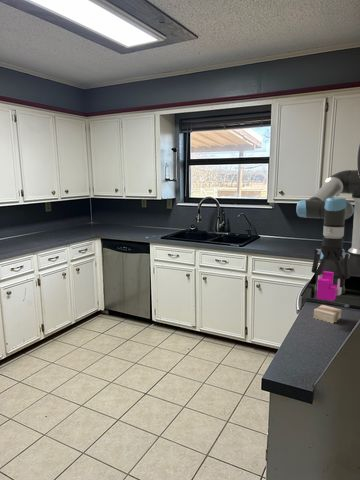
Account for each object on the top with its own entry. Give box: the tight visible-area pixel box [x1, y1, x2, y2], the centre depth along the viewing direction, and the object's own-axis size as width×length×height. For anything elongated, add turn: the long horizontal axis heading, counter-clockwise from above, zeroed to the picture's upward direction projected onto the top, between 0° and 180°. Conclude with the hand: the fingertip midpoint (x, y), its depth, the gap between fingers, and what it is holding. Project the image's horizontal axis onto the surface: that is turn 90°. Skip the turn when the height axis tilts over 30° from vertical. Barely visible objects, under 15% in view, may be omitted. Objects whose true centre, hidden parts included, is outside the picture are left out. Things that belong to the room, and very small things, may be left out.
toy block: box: [316, 271, 338, 302], centre depth 140 cm, size 15×6×8 cm, turn 150°
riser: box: [313, 304, 342, 324], centre depth 144 cm, size 8×8×5 cm
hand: (328, 292), depth 143 cm, fingers closed on toy block, 7 cm apart
